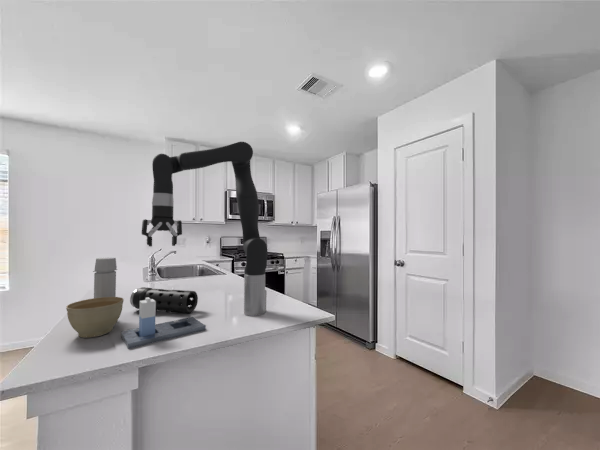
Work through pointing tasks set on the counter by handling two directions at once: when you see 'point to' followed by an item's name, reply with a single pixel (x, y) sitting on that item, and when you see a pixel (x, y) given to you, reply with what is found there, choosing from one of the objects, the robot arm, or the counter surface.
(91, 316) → the planter bowl
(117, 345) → the counter surface
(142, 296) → the muzzle brake
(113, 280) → the water bottle
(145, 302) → the plug
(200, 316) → the counter surface
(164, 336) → the panel
